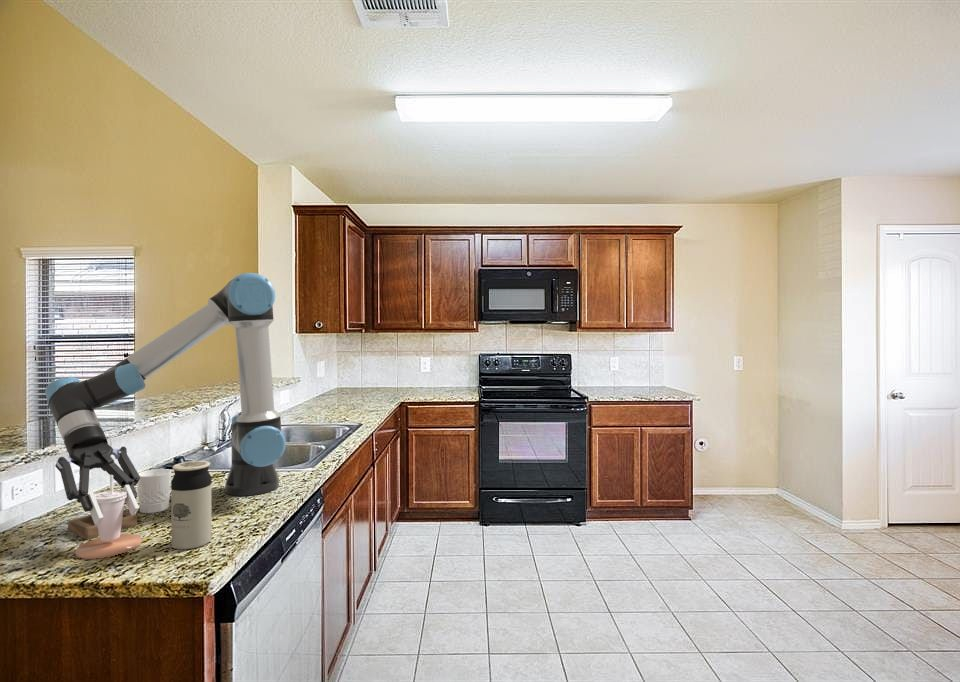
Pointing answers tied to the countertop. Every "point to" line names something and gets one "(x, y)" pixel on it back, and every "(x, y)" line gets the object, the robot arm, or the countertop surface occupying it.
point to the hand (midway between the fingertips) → (117, 516)
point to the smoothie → (111, 512)
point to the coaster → (108, 547)
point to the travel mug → (190, 505)
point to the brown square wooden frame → (88, 528)
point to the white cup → (154, 490)
